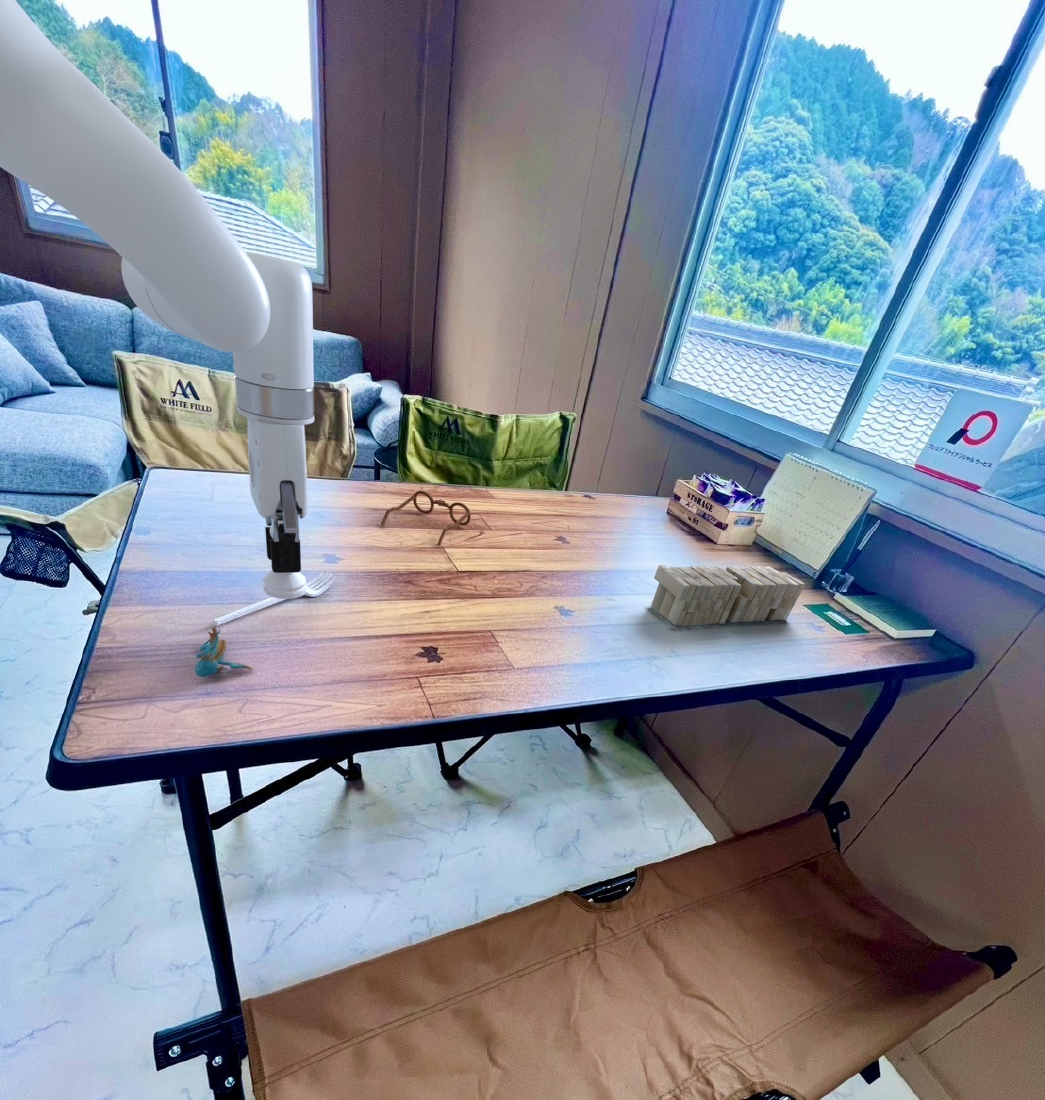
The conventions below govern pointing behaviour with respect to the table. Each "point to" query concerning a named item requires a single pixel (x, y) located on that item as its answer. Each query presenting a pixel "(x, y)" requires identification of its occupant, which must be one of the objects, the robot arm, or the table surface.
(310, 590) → the fork
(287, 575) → the chess pawn
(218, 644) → the dragon figurine
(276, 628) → the table surface
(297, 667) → the table surface
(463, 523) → the glasses
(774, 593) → the block tower
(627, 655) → the table surface
